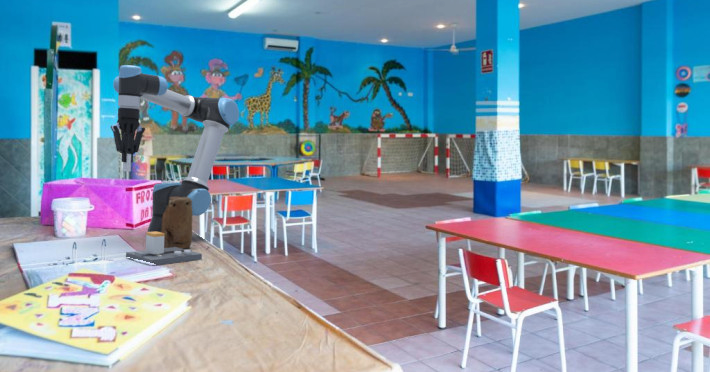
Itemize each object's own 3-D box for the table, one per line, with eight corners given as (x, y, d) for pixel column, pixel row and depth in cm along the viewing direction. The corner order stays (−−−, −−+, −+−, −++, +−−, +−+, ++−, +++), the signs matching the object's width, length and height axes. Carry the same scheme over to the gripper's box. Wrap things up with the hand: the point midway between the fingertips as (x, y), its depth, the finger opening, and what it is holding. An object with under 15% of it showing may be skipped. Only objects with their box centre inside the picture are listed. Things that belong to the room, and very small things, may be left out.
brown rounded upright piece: (187, 245, 235) (189, 196, 234) (192, 249, 229) (194, 198, 227) (159, 246, 229) (161, 196, 228) (164, 250, 223) (166, 198, 222)
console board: (175, 252, 221) (175, 242, 221) (201, 259, 211) (201, 249, 211) (125, 258, 205) (125, 247, 205) (151, 266, 195) (151, 255, 195)
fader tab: (155, 250, 208) (156, 231, 207) (163, 253, 205) (164, 233, 204) (145, 252, 205) (146, 232, 204) (153, 254, 202) (154, 234, 201)
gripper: (139, 109, 225) (137, 170, 227) (106, 106, 215) (104, 170, 217) (150, 109, 221) (148, 172, 222) (117, 106, 210) (115, 172, 212)
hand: (126, 171), depth 219 cm, fingers closed
